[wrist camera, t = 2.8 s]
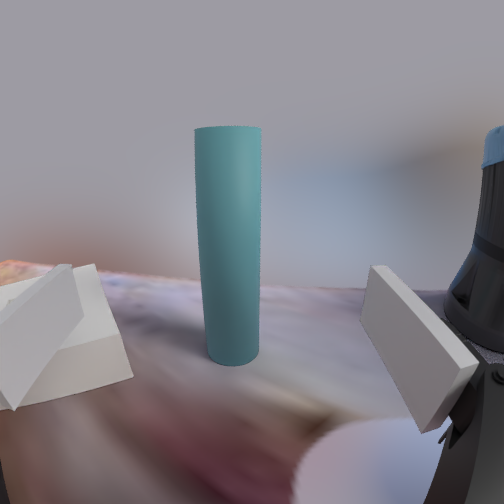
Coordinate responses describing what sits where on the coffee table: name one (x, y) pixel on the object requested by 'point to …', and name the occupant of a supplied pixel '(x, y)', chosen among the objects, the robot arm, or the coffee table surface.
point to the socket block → (79, 344)
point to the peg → (229, 239)
